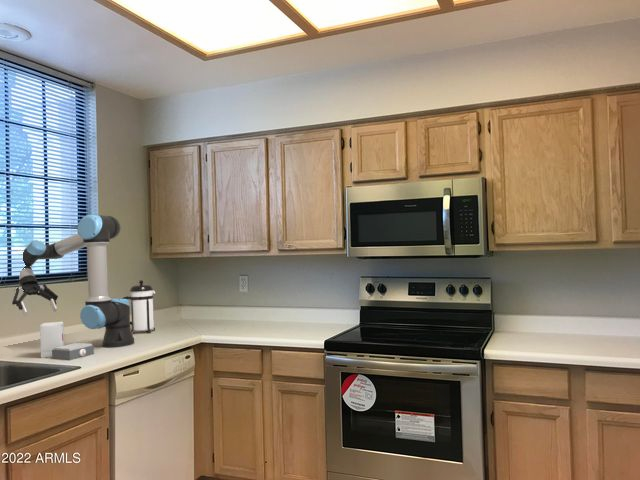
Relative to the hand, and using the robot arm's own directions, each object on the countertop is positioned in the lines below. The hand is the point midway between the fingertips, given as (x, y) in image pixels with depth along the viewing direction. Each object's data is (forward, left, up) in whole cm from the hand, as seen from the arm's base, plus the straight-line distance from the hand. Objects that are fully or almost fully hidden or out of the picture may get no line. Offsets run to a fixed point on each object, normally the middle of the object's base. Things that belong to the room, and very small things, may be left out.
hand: (40, 312), depth 245 cm
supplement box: (+3, +11, -20) cm, 23 cm away
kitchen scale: (+2, +23, -19) cm, 30 cm away
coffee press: (-58, +5, -20) cm, 62 cm away
